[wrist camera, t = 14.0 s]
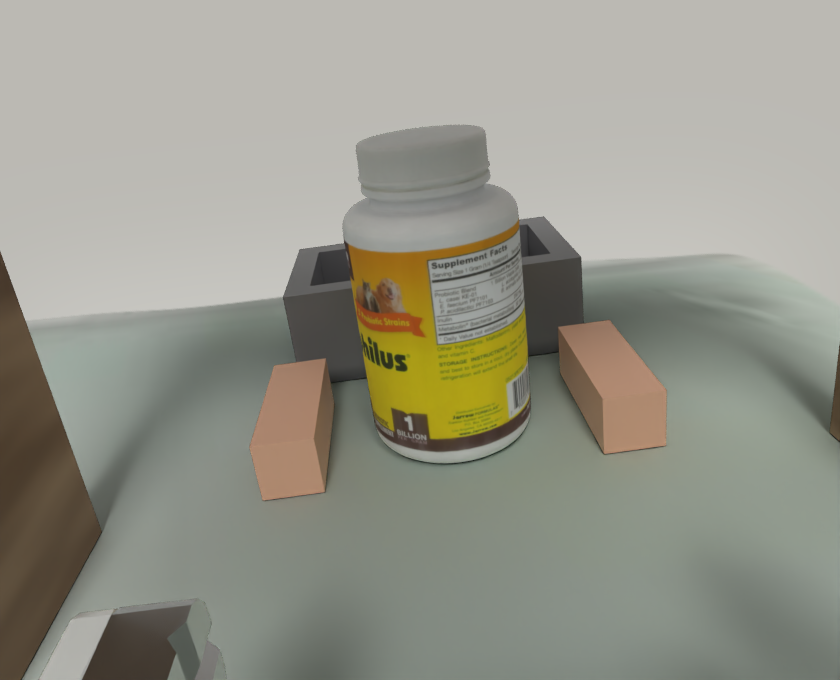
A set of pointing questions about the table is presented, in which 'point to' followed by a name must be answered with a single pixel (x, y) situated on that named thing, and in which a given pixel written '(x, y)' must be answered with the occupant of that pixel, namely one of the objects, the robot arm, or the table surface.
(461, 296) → the supplement bottle
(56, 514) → the tunnel
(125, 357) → the table surface
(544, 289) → the box
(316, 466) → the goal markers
